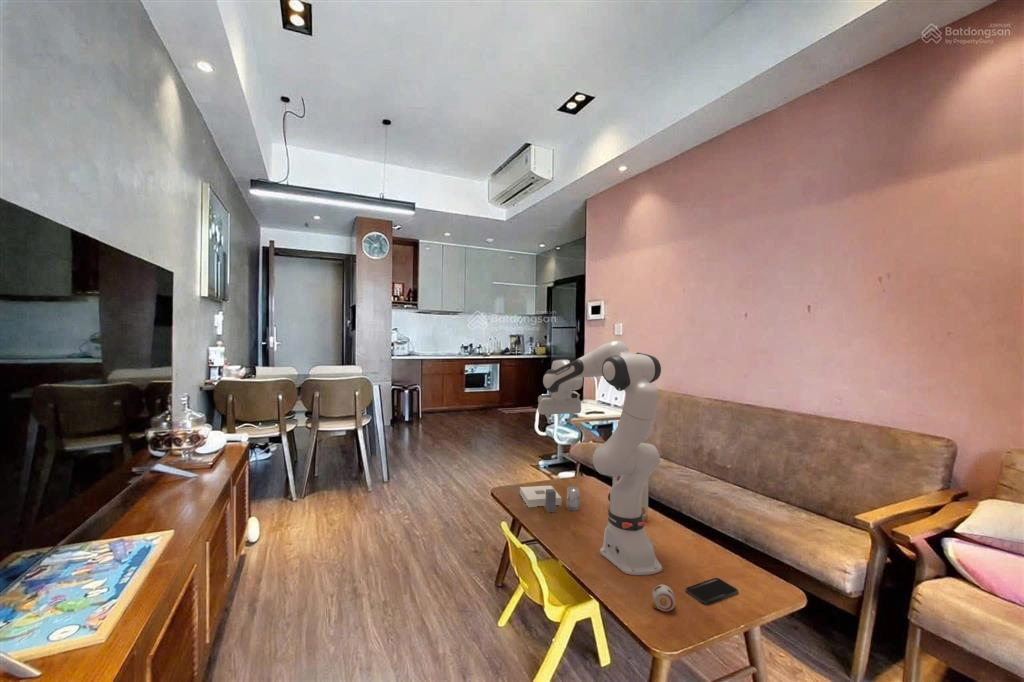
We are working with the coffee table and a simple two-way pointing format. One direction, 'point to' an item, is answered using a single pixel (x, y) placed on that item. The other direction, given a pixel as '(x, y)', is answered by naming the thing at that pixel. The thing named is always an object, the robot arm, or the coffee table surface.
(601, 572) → the coffee table surface
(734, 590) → the phone
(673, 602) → the roller toy
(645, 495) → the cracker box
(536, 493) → the socket block
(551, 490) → the square peg
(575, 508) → the round peg
